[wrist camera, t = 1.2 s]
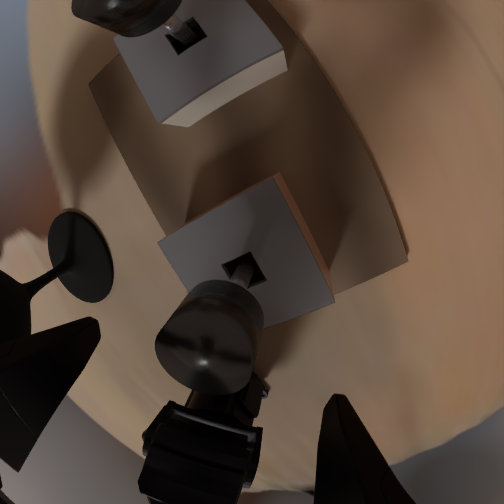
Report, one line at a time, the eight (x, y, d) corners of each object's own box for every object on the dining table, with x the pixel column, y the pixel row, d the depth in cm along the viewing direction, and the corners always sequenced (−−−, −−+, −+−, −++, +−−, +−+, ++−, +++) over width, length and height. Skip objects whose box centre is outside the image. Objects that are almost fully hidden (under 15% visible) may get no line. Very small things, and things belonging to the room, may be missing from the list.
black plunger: (175, 74, 13) (81, 35, 5) (152, 37, 12) (65, -6, 4) (228, 40, 11) (165, -33, 4) (200, 5, 11) (134, -62, 3)
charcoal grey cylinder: (234, 303, 17) (192, 399, 10) (205, 256, 16) (137, 335, 9) (286, 283, 16) (270, 385, 9) (257, 230, 15) (214, 307, 8)
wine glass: (118, 229, 22) (-72, 359, 4) (113, 316, 26) (-3, 445, 8) (50, 199, 23) (-101, 272, 4) (52, 279, 27) (-60, 367, 8)
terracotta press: (237, 308, 22) (223, 341, 18) (184, 223, 20) (157, 242, 16) (329, 271, 19) (334, 302, 15) (279, 171, 18) (272, 177, 13)
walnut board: (231, 329, 24) (229, 333, 23) (92, 84, 18) (88, 84, 17) (405, 258, 19) (408, 261, 18) (244, -22, 12) (242, -26, 12)
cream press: (188, 127, 17) (158, 123, 13) (145, 53, 16) (112, 38, 11) (287, 70, 15) (283, 47, 11) (231, -2, 13) (215, -31, 9)
